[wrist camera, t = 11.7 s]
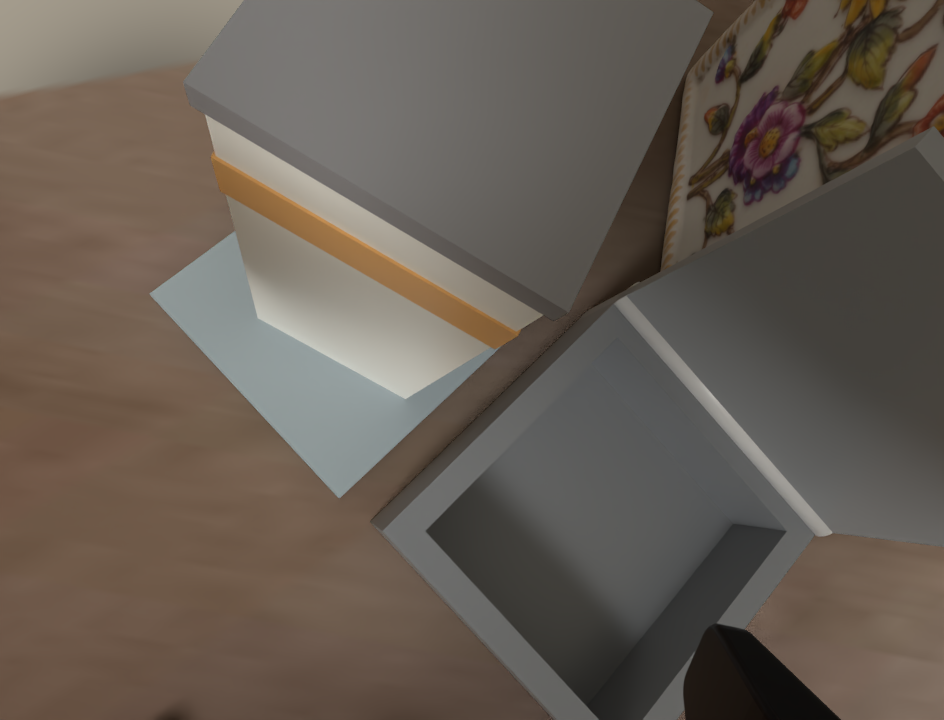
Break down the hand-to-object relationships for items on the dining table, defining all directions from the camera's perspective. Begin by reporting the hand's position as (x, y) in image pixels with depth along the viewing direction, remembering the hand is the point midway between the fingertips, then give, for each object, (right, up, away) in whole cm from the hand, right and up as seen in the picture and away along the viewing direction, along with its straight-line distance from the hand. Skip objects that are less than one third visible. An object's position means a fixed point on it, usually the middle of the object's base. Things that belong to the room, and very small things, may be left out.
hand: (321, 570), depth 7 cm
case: (+5, -3, +14) cm, 15 cm away
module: (-1, +5, +13) cm, 14 cm away
